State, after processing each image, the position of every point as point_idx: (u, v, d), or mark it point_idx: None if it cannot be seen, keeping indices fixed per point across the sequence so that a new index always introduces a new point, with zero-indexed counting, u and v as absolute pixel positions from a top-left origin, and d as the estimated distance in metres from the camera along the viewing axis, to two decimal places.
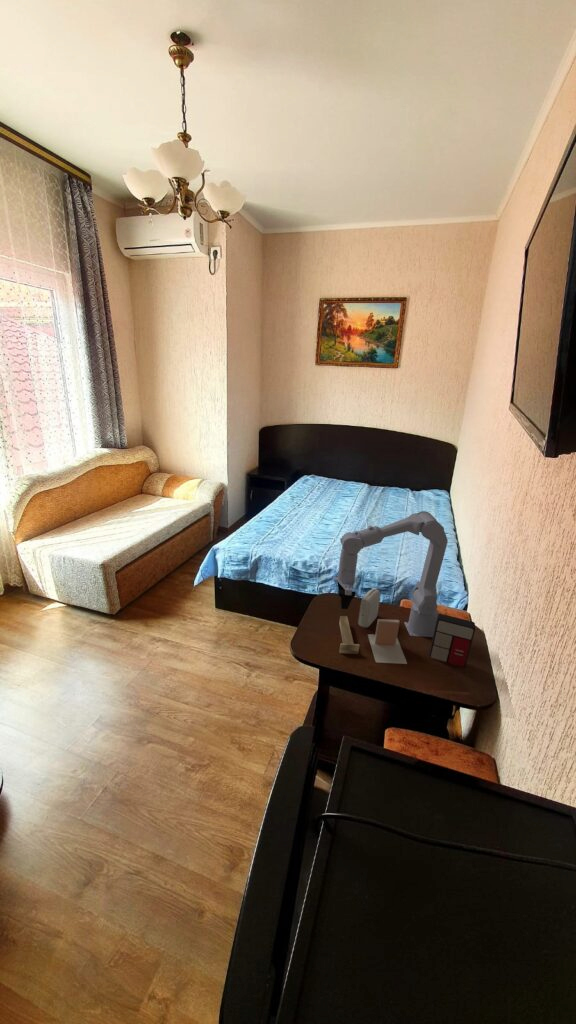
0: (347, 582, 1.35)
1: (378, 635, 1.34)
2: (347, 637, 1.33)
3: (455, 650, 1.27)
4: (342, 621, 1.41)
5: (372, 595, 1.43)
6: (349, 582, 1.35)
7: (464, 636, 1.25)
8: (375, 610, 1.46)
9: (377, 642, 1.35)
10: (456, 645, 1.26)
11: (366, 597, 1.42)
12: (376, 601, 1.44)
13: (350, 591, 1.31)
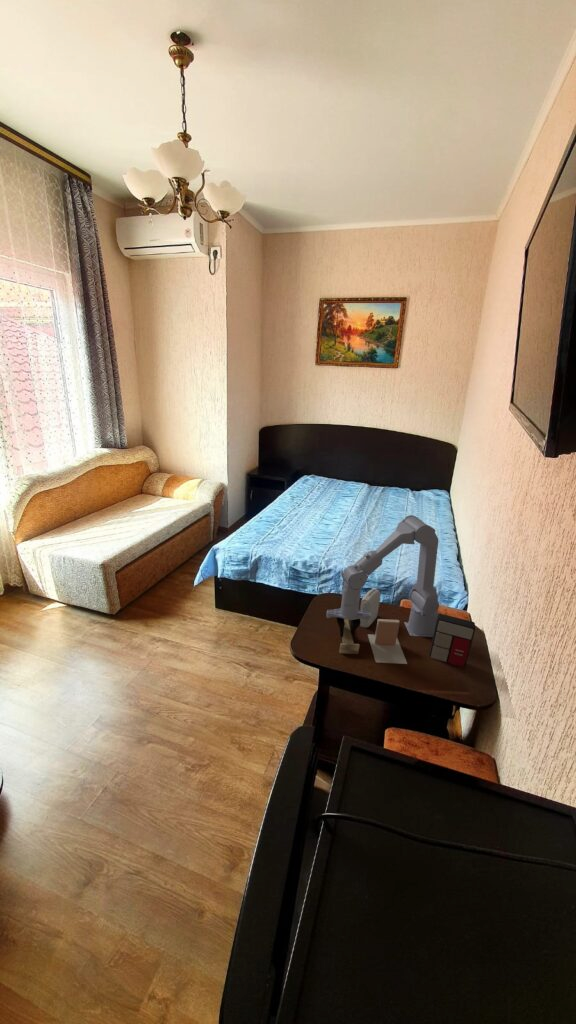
0: (340, 611, 1.34)
1: (378, 635, 1.34)
2: (347, 636, 1.33)
3: (455, 650, 1.27)
4: None
5: (372, 595, 1.43)
6: (341, 612, 1.33)
7: (464, 636, 1.25)
8: (375, 610, 1.46)
9: (377, 642, 1.35)
10: (456, 645, 1.26)
11: (366, 597, 1.42)
12: (376, 601, 1.44)
13: (327, 613, 1.34)
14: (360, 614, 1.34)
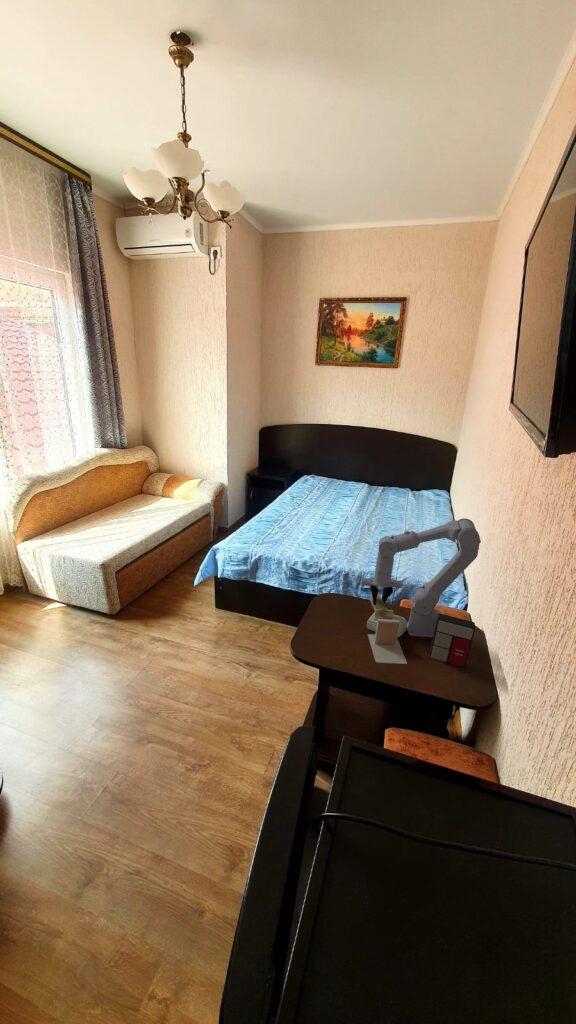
0: (373, 580, 1.42)
1: (378, 635, 1.34)
2: (380, 605, 1.41)
3: (455, 650, 1.27)
4: None
5: None
6: (374, 581, 1.42)
7: (464, 636, 1.25)
8: None
9: (377, 642, 1.35)
10: (456, 645, 1.26)
11: (401, 632, 1.38)
12: None
13: (361, 582, 1.42)
14: (392, 582, 1.42)
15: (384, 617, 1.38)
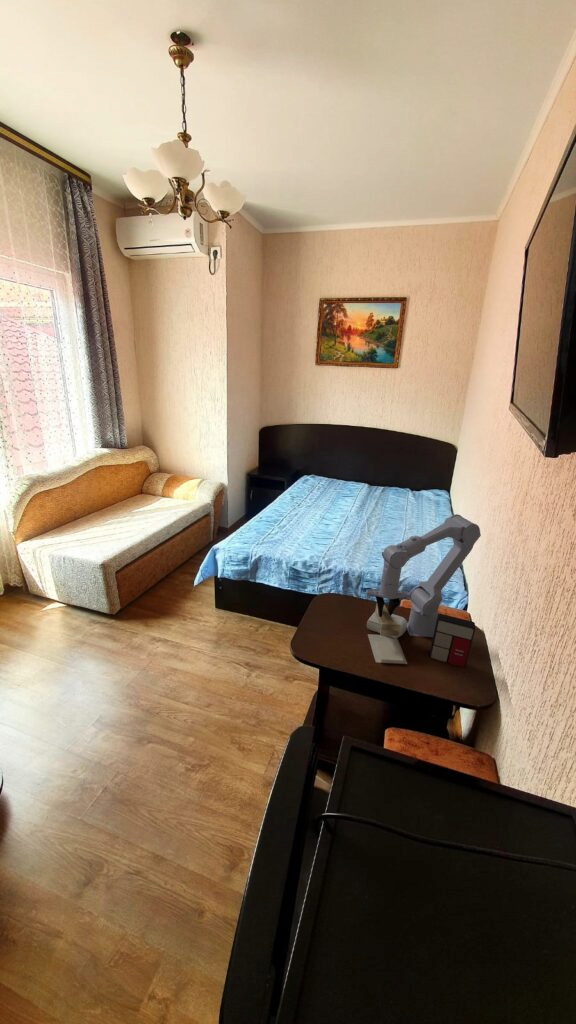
0: (379, 591, 1.35)
1: None
2: (387, 618, 1.34)
3: (455, 650, 1.27)
4: None
5: None
6: (380, 592, 1.35)
7: (464, 636, 1.25)
8: None
9: None
10: (456, 645, 1.26)
11: (401, 632, 1.38)
12: None
13: (366, 593, 1.35)
14: (399, 594, 1.35)
15: (390, 631, 1.31)
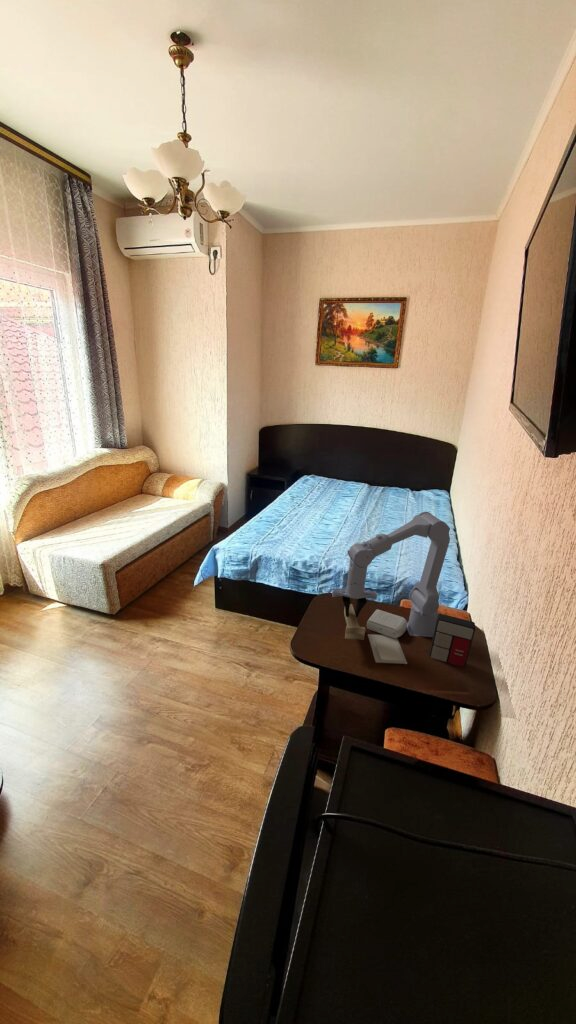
0: (346, 590, 1.32)
1: None
2: (352, 621, 1.31)
3: (455, 650, 1.27)
4: None
5: None
6: (346, 591, 1.32)
7: (464, 636, 1.25)
8: None
9: None
10: (456, 645, 1.26)
11: (401, 632, 1.38)
12: None
13: (332, 592, 1.32)
14: (366, 593, 1.33)
15: (355, 635, 1.28)
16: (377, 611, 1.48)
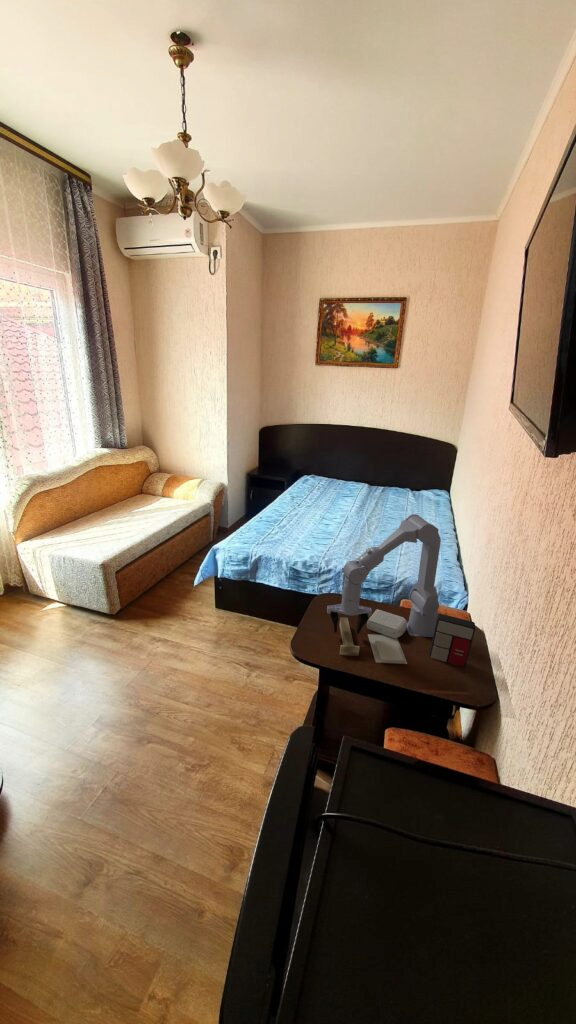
0: (340, 607, 1.34)
1: None
2: (347, 638, 1.32)
3: (455, 650, 1.27)
4: (342, 622, 1.40)
5: None
6: (341, 608, 1.33)
7: (464, 636, 1.25)
8: None
9: None
10: (456, 645, 1.26)
11: (401, 632, 1.38)
12: None
13: (327, 609, 1.33)
14: (361, 610, 1.34)
15: (350, 653, 1.29)
16: (377, 611, 1.48)
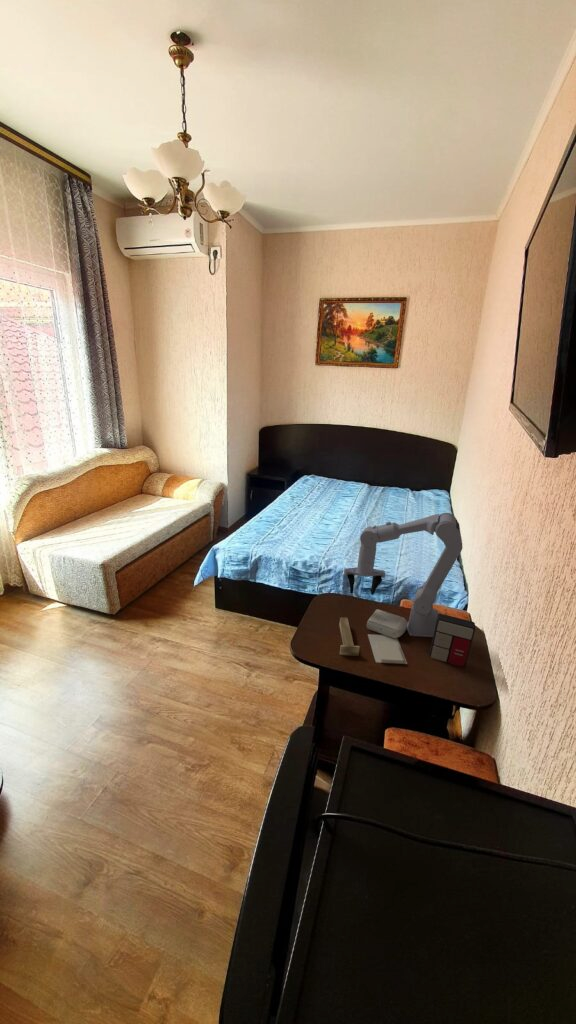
0: (357, 569, 1.46)
1: None
2: (347, 638, 1.32)
3: (455, 650, 1.27)
4: (342, 622, 1.40)
5: None
6: (357, 570, 1.45)
7: (464, 636, 1.25)
8: None
9: None
10: (456, 645, 1.26)
11: (401, 632, 1.38)
12: None
13: (344, 571, 1.45)
14: (375, 572, 1.46)
15: (350, 653, 1.29)
16: (377, 611, 1.48)
